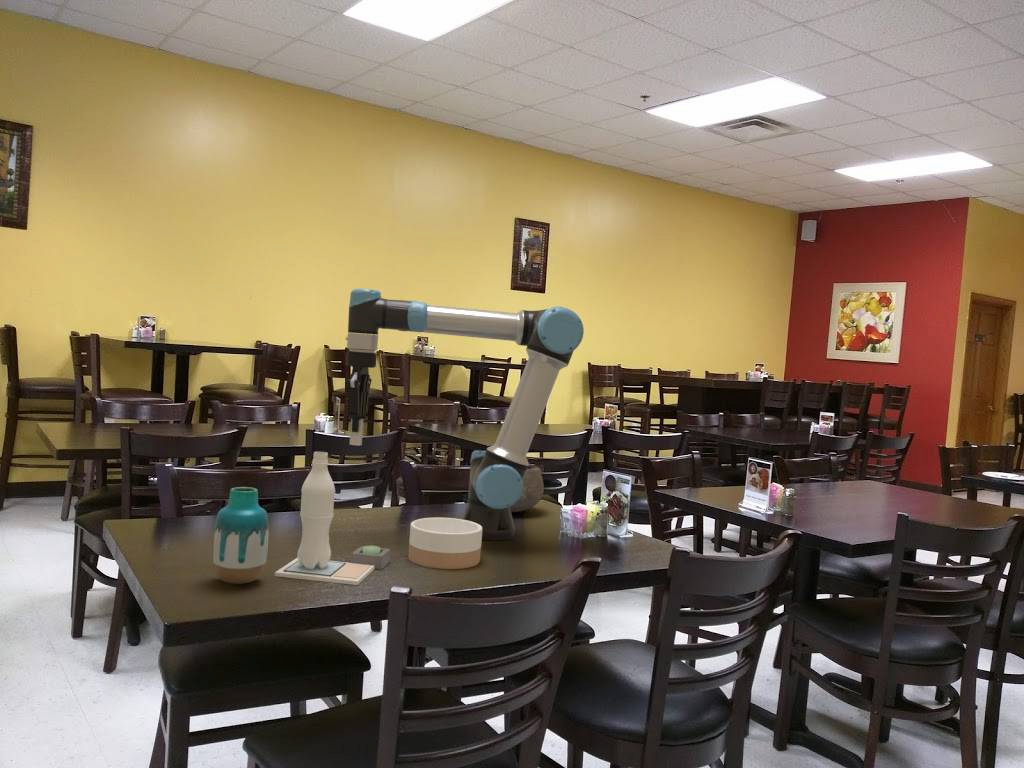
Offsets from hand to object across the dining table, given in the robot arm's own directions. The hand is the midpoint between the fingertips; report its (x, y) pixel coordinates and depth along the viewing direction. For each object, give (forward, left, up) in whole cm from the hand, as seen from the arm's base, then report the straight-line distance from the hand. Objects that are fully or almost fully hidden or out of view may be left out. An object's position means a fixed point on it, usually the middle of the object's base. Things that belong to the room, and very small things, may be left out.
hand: (355, 444), depth 209 cm
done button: (-11, +19, -24) cm, 33 cm away
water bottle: (-1, +29, -24) cm, 37 cm away
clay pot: (-34, -55, -25) cm, 69 cm away
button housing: (-11, +19, -24) cm, 33 cm away
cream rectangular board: (-4, +29, -24) cm, 38 cm away
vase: (+10, +42, -25) cm, 50 cm away
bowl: (-26, +8, -25) cm, 37 cm away
